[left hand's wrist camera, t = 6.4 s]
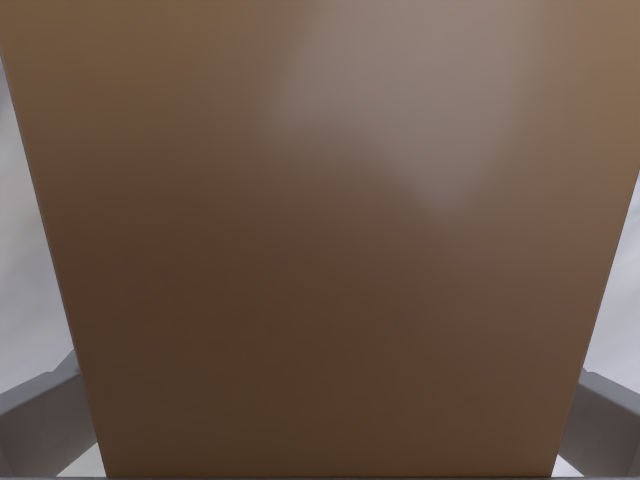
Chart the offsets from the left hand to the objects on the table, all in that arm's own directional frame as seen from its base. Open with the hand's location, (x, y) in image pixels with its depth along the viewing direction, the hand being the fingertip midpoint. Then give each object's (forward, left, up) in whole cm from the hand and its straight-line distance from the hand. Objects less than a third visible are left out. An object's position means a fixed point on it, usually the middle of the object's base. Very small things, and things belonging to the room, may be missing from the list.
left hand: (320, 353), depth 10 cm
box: (-7, +7, -8) cm, 13 cm away
